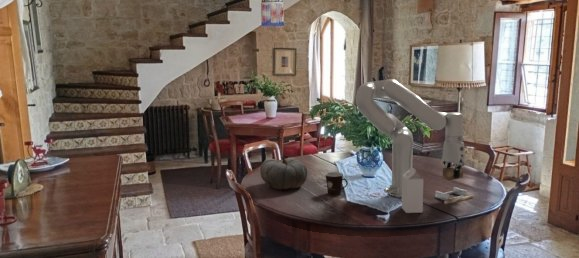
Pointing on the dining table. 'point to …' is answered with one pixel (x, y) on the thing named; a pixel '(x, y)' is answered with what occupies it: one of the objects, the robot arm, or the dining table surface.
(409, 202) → the milk carton
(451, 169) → the brown rectangular block
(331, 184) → the coffee mug
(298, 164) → the gourd
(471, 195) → the door edge strip
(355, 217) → the dining table surface
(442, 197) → the keeper
